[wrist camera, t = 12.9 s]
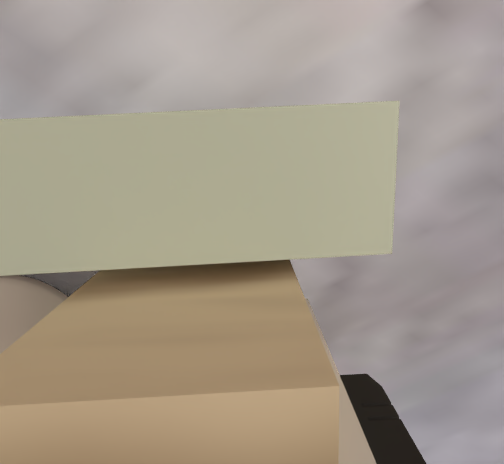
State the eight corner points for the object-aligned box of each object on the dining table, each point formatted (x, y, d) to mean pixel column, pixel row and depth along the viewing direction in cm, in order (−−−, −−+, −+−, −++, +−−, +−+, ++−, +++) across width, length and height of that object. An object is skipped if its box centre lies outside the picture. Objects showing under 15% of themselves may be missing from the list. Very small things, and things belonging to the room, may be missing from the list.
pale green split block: (73, 139, 16) (-89, 123, 8) (322, 128, 16) (399, 100, 8) (137, 526, 21) (77, 742, 13) (322, 512, 21) (369, 716, 14)
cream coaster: (-91, 278, 17) (-115, 287, 16) (85, 269, 17) (73, 277, 16) (-47, 425, 19) (-66, 442, 18) (110, 414, 19) (101, 431, 18)
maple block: (115, 257, 12) (-67, 410, 5) (284, 248, 12) (339, 386, 5) (138, 400, 13) (24, 671, 6) (289, 391, 13) (335, 650, 6)
